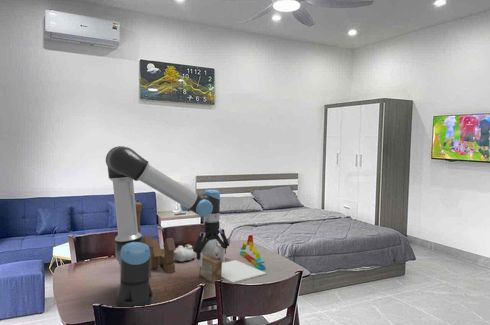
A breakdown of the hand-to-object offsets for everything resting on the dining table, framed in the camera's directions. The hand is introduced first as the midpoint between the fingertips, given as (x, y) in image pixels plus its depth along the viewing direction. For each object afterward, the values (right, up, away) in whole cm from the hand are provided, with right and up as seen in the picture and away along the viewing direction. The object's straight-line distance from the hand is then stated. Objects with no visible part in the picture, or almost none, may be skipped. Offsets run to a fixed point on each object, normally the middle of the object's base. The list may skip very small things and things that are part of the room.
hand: (211, 263), depth 183 cm
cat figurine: (-19, -6, +27) cm, 33 cm away
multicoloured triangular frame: (+21, -8, +29) cm, 37 cm away
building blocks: (-32, -6, +9) cm, 33 cm away
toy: (-2, -6, +32) cm, 32 cm away
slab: (-1, -8, 0) cm, 8 cm away
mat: (+11, -8, +11) cm, 17 cm away
